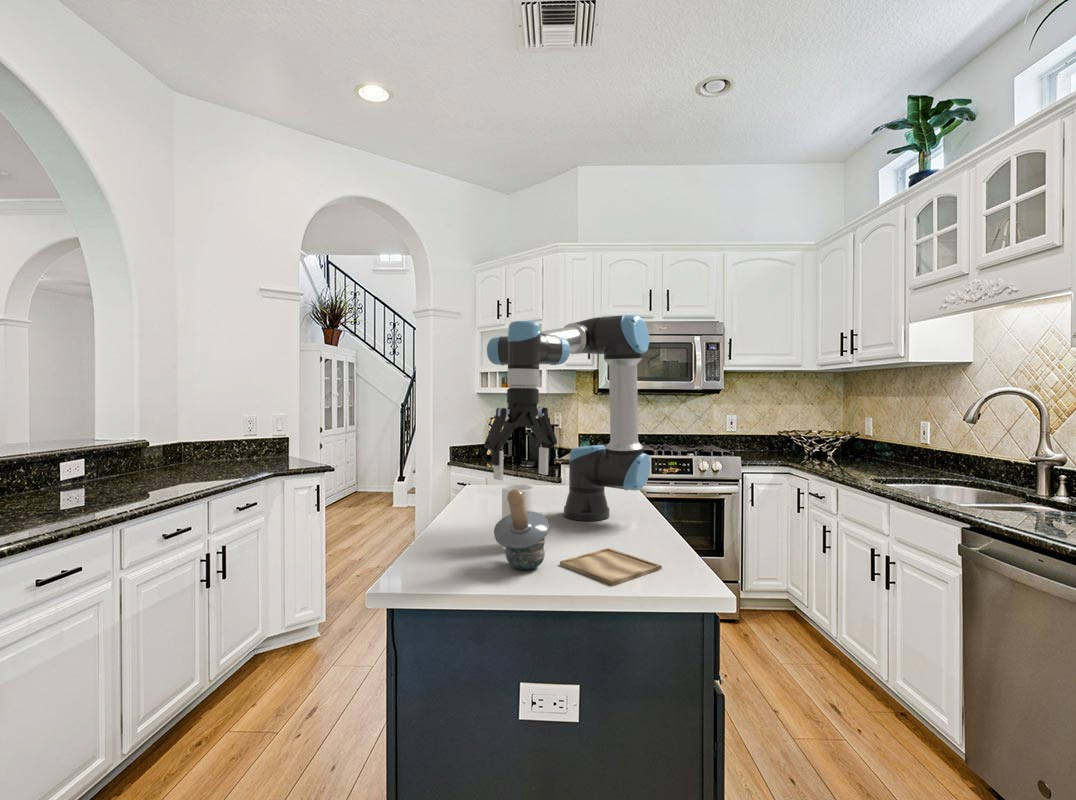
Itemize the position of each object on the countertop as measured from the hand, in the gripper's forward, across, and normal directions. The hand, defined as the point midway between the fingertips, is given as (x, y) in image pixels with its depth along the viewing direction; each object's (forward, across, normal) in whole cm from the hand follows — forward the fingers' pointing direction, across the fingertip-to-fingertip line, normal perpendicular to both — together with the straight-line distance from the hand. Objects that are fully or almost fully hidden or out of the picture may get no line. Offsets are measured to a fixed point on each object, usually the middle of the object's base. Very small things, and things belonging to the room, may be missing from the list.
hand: (521, 476), depth 128 cm
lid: (+13, 0, +1) cm, 13 cm away
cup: (+21, -8, -12) cm, 26 cm away
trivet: (+21, -16, +14) cm, 30 cm away
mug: (+22, 0, 0) cm, 22 cm away
